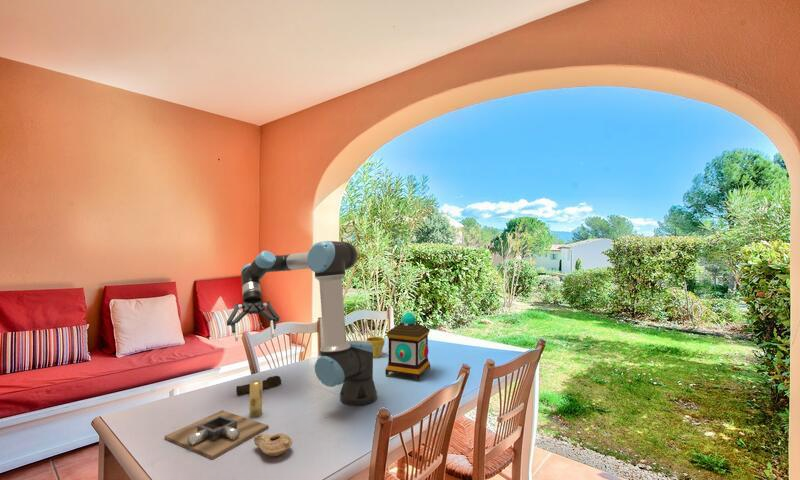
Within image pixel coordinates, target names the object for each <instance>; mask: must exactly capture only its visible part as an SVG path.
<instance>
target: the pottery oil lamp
mask: <svg viewBox="0 0 800 480" xmlns="http://www.w3.org/2000/svg"><path fill="white" fill-rule="evenodd" d="M253 442H254V445H256V447H258V448H259V449H260V451H262V452H263V453H264V454H265V455H267V456H269V457H277V456H280V455H283V453H284V452H286V451H288V450H289V449H290V448H291V447H292V444H293V439H292V438H291V437H290V436H289V435H287V434H285V433H282V432H281V433H275V434H274V433H273V434H267V433H265V434H263V433H262V434H261V433H260V434H257V435H256V436H254V438H253Z"/></svg>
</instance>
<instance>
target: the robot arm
mask: <svg viewBox="0 0 800 480" xmlns="http://www.w3.org/2000/svg"><path fill="white" fill-rule="evenodd" d="M357 261H358V250H357V248H356V247H355V246H354V245H353V244H352V243H351V242H348V241H336V240H335V241H334V240H333V241H332V240H325V241H324V240H323V241H318V242H315V243H314V244H313V245H312V246H311V248H310V249H309V250H308V251H305V252H298V253H292V254H279V255H277V254H276V255H275V254H274V253H273V252H271V251H269V250H262V251H260V253H258V255H257V256H256V257H255V259H253V261H252V262H250V263H247V264H244V265H243V266H242V267H241V270H240V277H241V289H242V290H241V291H242V292H241V293H242V294H241V295H242V304H239V303H238V302H236V303H235V304H234V309H233V310H232V312H231V314H230V315H229V317H228V319H227V321H226V326H228V327H229V326H231V333H232V334H234V338H235V339H234V341H235V342H238V341H239V340H238V339H239V334H238V323H239V322H240V321H241V320H242V319H243V318H244V317H245V316H247V315H252V314H254V315H257V314H259V315H261V316H263V318H265V319H267V321H269V322H270V324H269V326H270V328H269V329H270V335H271V338H274V337H275V330H276V327H277V324H276V323H278V322H279V321H280V316H279V314H278V313H277V311H276V310H275V309H274V308H273V307H272V306H271V303H270V302H271V301H270V300H269V301H266V302H263V300H262V290H261V279H262V278H263V277H264V276H265V275H266V274H267V273H275V272H291V271H297V270H307V269H308V270H309V269H310V271H312V272H314V278H315V279H317V280H318V282H319V283H318V284H319V294H320V296H319V297H320V307H321V308H320V309H321V310H320V312H321V320H322V321H321V324H322V337H323V345H322V346H321V347H320V349H319V353H320V357H318V358H317V359H316V361H315V364H314V372H315V376H316V377H317V379H318V381H320V382H321V384H322V385H325V386H326V387H329V388H333V387H336V386H340V385H342V386H341V388H340V392H339V400H340V402H341V403H342V404H345V405H348V406H352V407H353V406H355V407H356V406H357V407H359V406H366V405H369V404H370V405H371V404H372V403H375V401H376V400H377V398H378V391H377V389H376V385H375V382H374V358H373V346H372V344H371V343H369V342H366V340H365V341H364V340H347V334H346V333H347V331H346V320H345V319H346V318H345V317H346V316H345V304H344V292H343V278H344V277H345V276H346V270H350V269H352V268H353V266H355V265H356V263H357ZM241 309H242V311H241V312H240V313H239V314H238V315H237V313H238V311H239V310H241ZM265 309H266V310H267V311H266V310H265Z"/></svg>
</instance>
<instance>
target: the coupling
mask: <svg viewBox="0 0 800 480" xmlns="http://www.w3.org/2000/svg"><path fill="white" fill-rule="evenodd" d="M263 381H264V380H262V379H256V380H255V379H254V380H251V381H250V382H249V384H250V392H249V409H248V410H249V413H248V414H249V418H258V417H260V416H262V415H263V389H262V383H263Z"/></svg>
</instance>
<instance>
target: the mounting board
mask: <svg viewBox="0 0 800 480" xmlns="http://www.w3.org/2000/svg"><path fill="white" fill-rule="evenodd" d="M220 415H221V416H224V417H227V418H230V419H233V420H236V421H237V429H238V430H240V436H239V438H238V439H236V440H233V439H230V438H227V437H225V436H224V437H222V438H220V439H218V440H217V441H215V442H213V441H211V440H208V439H205V440H203V441H201V442H199V443H197V444H195V445H193V446H190V445H189V444H188V441H187V439H188V437H189V436H190V435H193V434H195V433H197V426H198V425H200V424H203V423H205V422H207V421H209V420H212V419H214V418H216V417H218V416H220ZM220 427H221V426H219V427H217V428H215V429H214V430H216V429H218V428H220ZM269 427H270V426H269V424H265V423H264V422H263V423H262V422H260V421H256V420H255V419H254V420H253V419H251V418H247V417H244V416H242V415H237V414H234V413H232V412H229V411H226V410H223V409H222V410H219V411H218V412H215V413H212V414H211V415H208V416H206V417H204V418H202V419H199V420H197V421H196V422H193V423H191V424H188V425H186V426H184V427H181V428H180V429H177V430H174V431H172V432H171V433H168V434H166V435H164V440H166V441H168V442H171V443H173V444H175V445H178V446H180V447H183V448H184V449H187V450H189V451H192V452H194V453H196V454H198V455H200V456H203V457H205V458H207V459H209V460H215V459H216V458H218V457H220V456H222V455H224V454H225V453H227V452H228V451H230V450H232V449H234V448H235V447H236V448H237V447H238V446H240V445H241V444H243V443H245V442H247V441H248V440H250V439H252V438H253V437H255V436H257V435H260V434H261V433H263V432H265V431H266V430H268V429H269Z"/></svg>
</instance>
